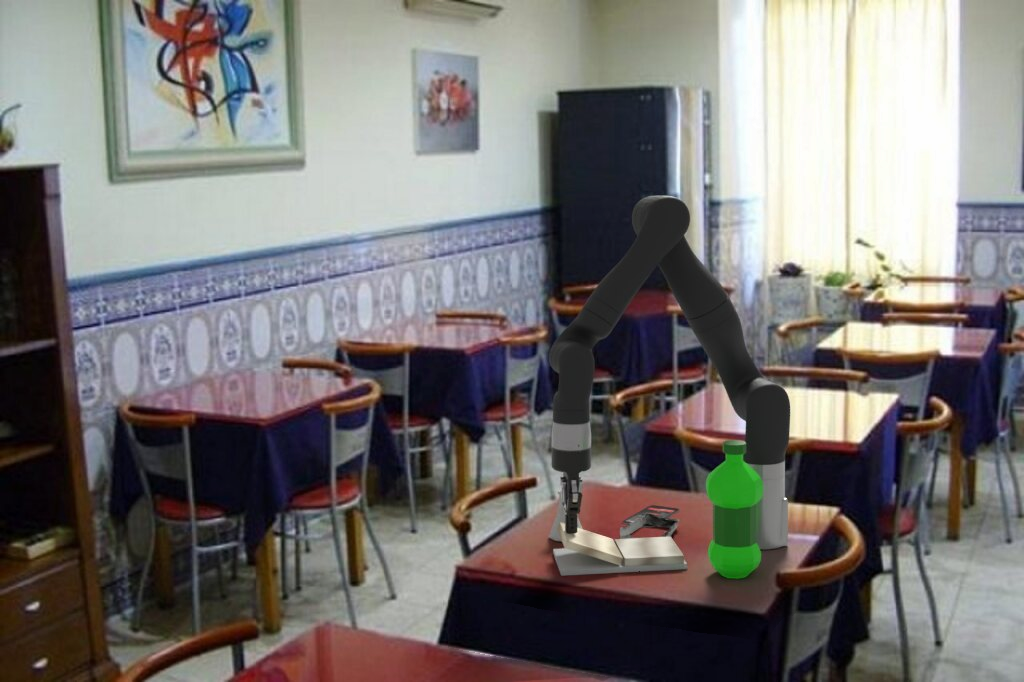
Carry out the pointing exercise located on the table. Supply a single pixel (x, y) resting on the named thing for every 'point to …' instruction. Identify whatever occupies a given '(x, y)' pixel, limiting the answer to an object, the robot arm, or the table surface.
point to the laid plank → (649, 551)
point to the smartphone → (653, 509)
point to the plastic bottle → (734, 513)
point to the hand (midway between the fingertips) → (571, 532)
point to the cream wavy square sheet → (590, 544)
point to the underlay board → (600, 564)
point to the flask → (560, 518)
